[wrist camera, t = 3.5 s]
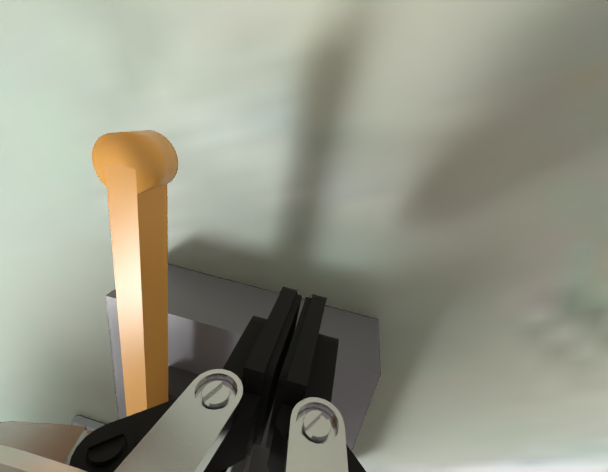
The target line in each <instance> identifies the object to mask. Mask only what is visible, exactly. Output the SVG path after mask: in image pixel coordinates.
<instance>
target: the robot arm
mask: <svg viewBox="0 0 608 472" xmlns="http://www.w3.org/2000/svg"><path fill="white" fill-rule="evenodd" d="M301 298H302V296H301V295H297V290H293V289H290V288H286V287H283V288H282V290H281V292H280V294H279V296H278V298H277V300H276V303H275V305H274V307H273V309H272V311H271V313H270V315H269V317H268V319H265V318H261V317H257V316H253V317H252V318H251V320H250V321H249V323H248V325H247V327H246V328H245V330H244V332H243V334H242V335H241V337H240V339H239V341H238V343H237V344H236V346H235V348H234V350H233V351H232V353H231V355H230V357H229V358H228V360H227V362H226V364H225V365H224V367H223V369H213V370H209V371H206V372H204V373H202V374H200V375H199V376H198V377H197V378H196V379H194V380H193V382H192V383H191V384H190V385H189V386H188V387H187V388H186V390H185V391H184V392H183V393H182V394H181V395H180V396H179V397H178V398H176V399H173V400H170V401H168V402H165V403H162V404H160V405H157V406H154V407H152V408H149V409H146V410H144V411H141V412H138V413H136V414H133V415H130V416H128V417H125V418H122V419H119V420H117V421H114V422H111V423H109V424H106V425H104V426H102V427H100V428H98V429H96V430H94V431H91V430H87V428H86V426H78V425H62V424H47V423H31V422H15V421H9V422H0V472H231V470H232V467H233V465H234V464H236V463H238V462H240V461H242V460H244V459H245V458H246V456H247V455H249V456H250V454H251V451H252V448H253V445H254V444H256V445H259V446H260V445H261V442H262V439H263V436H264V433H265V430H266V427H267V424H268V420H269V417H270V414H271V411H272V408H273V411H272V416H271V421H270V426H269V431H268V436H267V441H266V446H265V448H268V449H270V453H269V457H268V462H267V467H268V469H269V471H270V472H366V471H365V470H364V468H363V467H362V466H361V464H360V463H359V461H358V460H357V458H356V457H355V456H354V454H353V453H352V451H351V450H350V449H349V447H348V446H347V444H346V436H345V425H344V421H343V417H342V416H341V414H340V412H339V410H338V409H337V408H336V407H335V406H334V405H333V404H332V403H331V399H332V391H333V383H334V376H335V368H336V360H337V352H338V344H339V339H337V338H333V337H330V336H326V335H322V334H319V330H320V326H321V321H322V317H323V312H324V308H325V303H326V299H327V298H324V297H320V296H316V295H312V298H309V297H306V299H305V302H304V305H303V308H302V311H301V313H300V316H299V319H298V322H297V318H298V313H299V308H300V303H301ZM296 322H297V325H296ZM295 327H296V328H295Z"/></svg>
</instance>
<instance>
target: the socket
mask: <svg viewBox="0 0 608 472" xmlns="http://www.w3.org/2000/svg"><path fill="white" fill-rule="evenodd" d="M278 296H279V293H275V292H271V291H268V290H264V289H260V288H256V287H253V286H249V285H245V284H241V283H237V282H234V281H230V280H226V279H222V278H219V277H215V276H211V275H207V274H203V273H200V272H196V271H192V270H188V269H185V268H181V267H177V266H173V265H169V264H168V367H169V366H172V367H176V368H179V369H182V370H186V371H189V372H192V373H196V374H199V375H200V374H202V373H204V372H206V371H209V370H213V369H223V367H224V365H225V364H226V362H227V360H228V358H229V357H230V355H231V353H232V351H233V350H234V348H235V346H236V344H237V343H238V341H239V339H240V337H241V335H242V334H243V332H244V330H245V328H246V327H247V325H248V323H249V321H250V320H251V318H252V317H253V316H257V317H261V318H265V319H268V317H269V315H270V313H271V311H272V309H273V307H274V305H275V303H276V300H277V298H278ZM304 302H305V300H302V299H301V303H300V308H299V313H298V318H297V322H298V319H299V316H300V313H301V311H302V308H303V305H304ZM106 303H107V312H108V322H109V331H110V341H111V351H112V360H113V370H114V380H115V389H116V399H117V409H118V418H119V419H122V418H125V417H127V414H126V402H125V391H124V379H123V368H122V356H121V345H120V333H119V322H118V310H117V299H116V289H115V290H113V291H112V292H110V293H109V294H107V295H106ZM297 322H296V325H297ZM295 328H296V327H295ZM319 334H322V335H326V336H330V337H333V338H337V339H339V344H338V352H337V360H336V368H335V376H334V383H333V391H332V399H331V403H332V404H333V405H334V406H335V407H336V408H337V409H338V410H339V412H340V414H341V416H342V417H343V421H344V425H345V436H346V444H347V446H348V447H349V449H350V450H351V451H352V448H353V446H354V443H355V440H356V438H357V435H358V432H359V430H360V427H361V424H362V422H363V419H364V416H365V414H366V411H367V409H368V406H369V403H370V401H371V398H372V395H373V393H374V390H375V387H376V385H377V382H378V379H379V377H380V374H381V370H380V350H379V330H378V320H377V319H373V318H370V317H366V316H362V315H358V314H355V313H351V312H347V311H343V310H339V309H336V308H332V307H328V306H325V308H324V312H323V317H322V321H321V326H320V330H319Z"/></svg>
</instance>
